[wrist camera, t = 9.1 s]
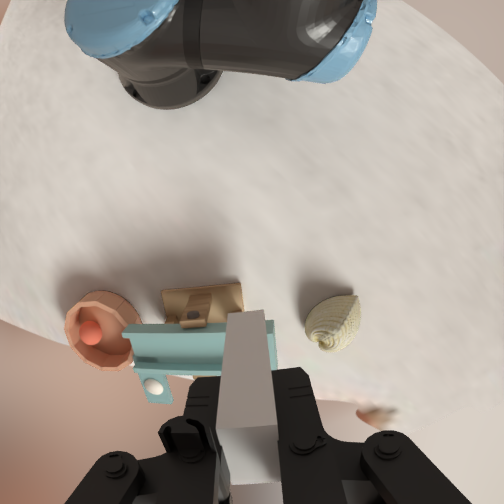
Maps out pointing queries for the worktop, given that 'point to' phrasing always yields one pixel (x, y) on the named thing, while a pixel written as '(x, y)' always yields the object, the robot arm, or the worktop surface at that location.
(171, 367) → the lever
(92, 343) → the ball
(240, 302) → the stand
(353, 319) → the seashell
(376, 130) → the worktop surface
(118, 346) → the bowl
